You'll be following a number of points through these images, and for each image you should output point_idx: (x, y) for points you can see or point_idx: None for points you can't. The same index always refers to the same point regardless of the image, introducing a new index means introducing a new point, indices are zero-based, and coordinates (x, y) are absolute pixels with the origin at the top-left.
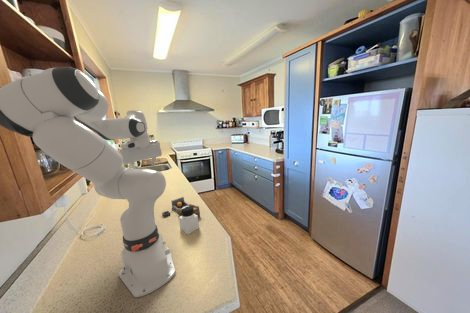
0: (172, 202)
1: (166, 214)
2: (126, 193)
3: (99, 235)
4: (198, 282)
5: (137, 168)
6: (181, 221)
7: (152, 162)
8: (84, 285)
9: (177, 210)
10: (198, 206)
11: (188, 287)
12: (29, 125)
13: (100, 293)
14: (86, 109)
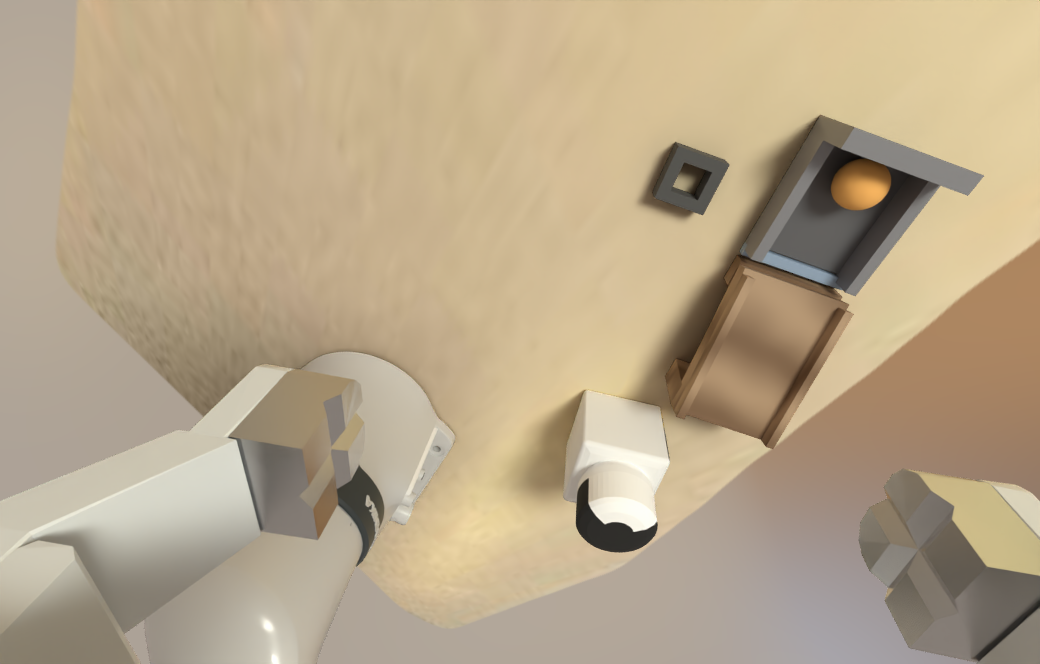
0: (839, 146)
1: (672, 203)
2: None
3: None
4: (425, 568)
5: (339, 483)
6: (574, 453)
7: (1028, 606)
8: (173, 311)
9: (752, 248)
10: (774, 446)
11: (400, 557)
12: None
13: (217, 387)
14: None
